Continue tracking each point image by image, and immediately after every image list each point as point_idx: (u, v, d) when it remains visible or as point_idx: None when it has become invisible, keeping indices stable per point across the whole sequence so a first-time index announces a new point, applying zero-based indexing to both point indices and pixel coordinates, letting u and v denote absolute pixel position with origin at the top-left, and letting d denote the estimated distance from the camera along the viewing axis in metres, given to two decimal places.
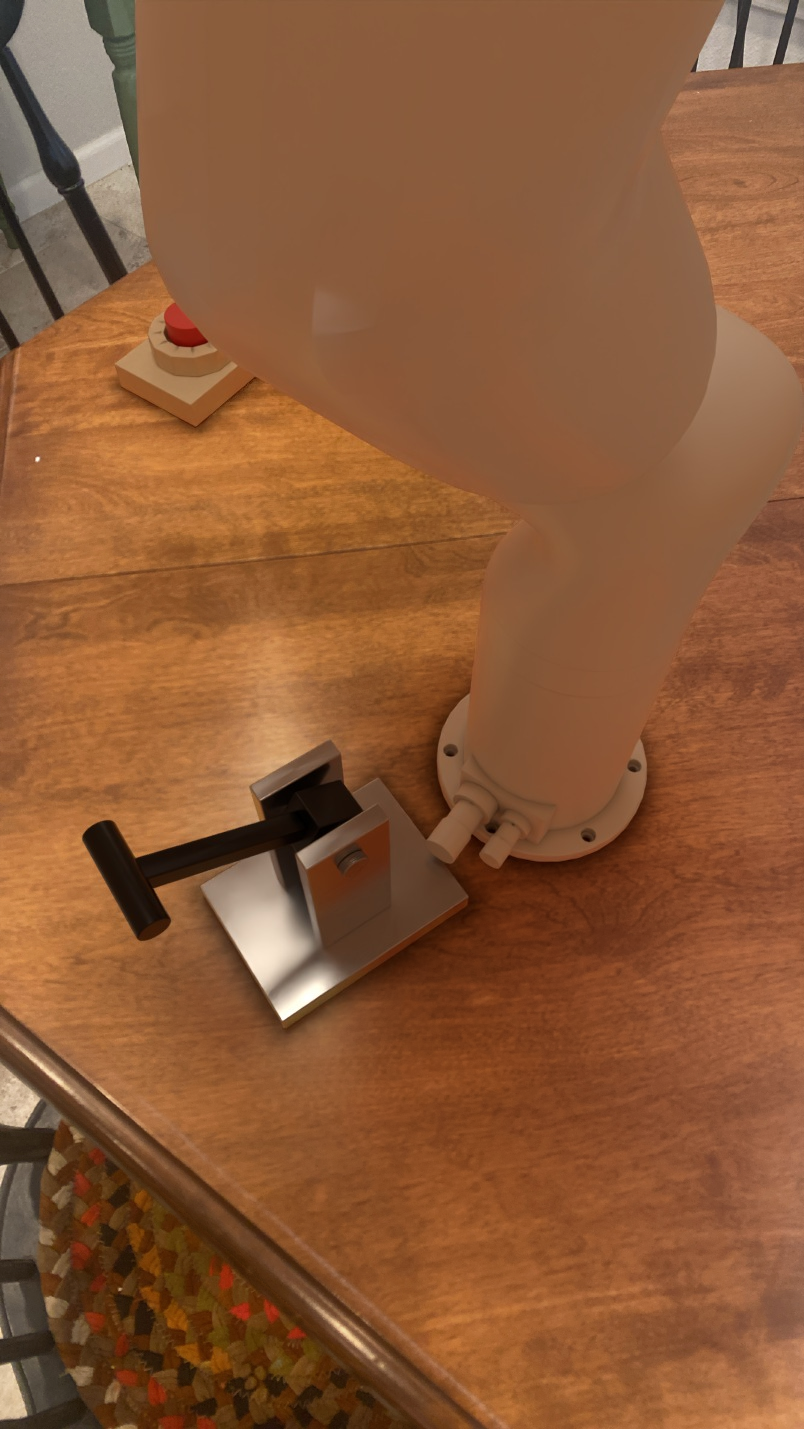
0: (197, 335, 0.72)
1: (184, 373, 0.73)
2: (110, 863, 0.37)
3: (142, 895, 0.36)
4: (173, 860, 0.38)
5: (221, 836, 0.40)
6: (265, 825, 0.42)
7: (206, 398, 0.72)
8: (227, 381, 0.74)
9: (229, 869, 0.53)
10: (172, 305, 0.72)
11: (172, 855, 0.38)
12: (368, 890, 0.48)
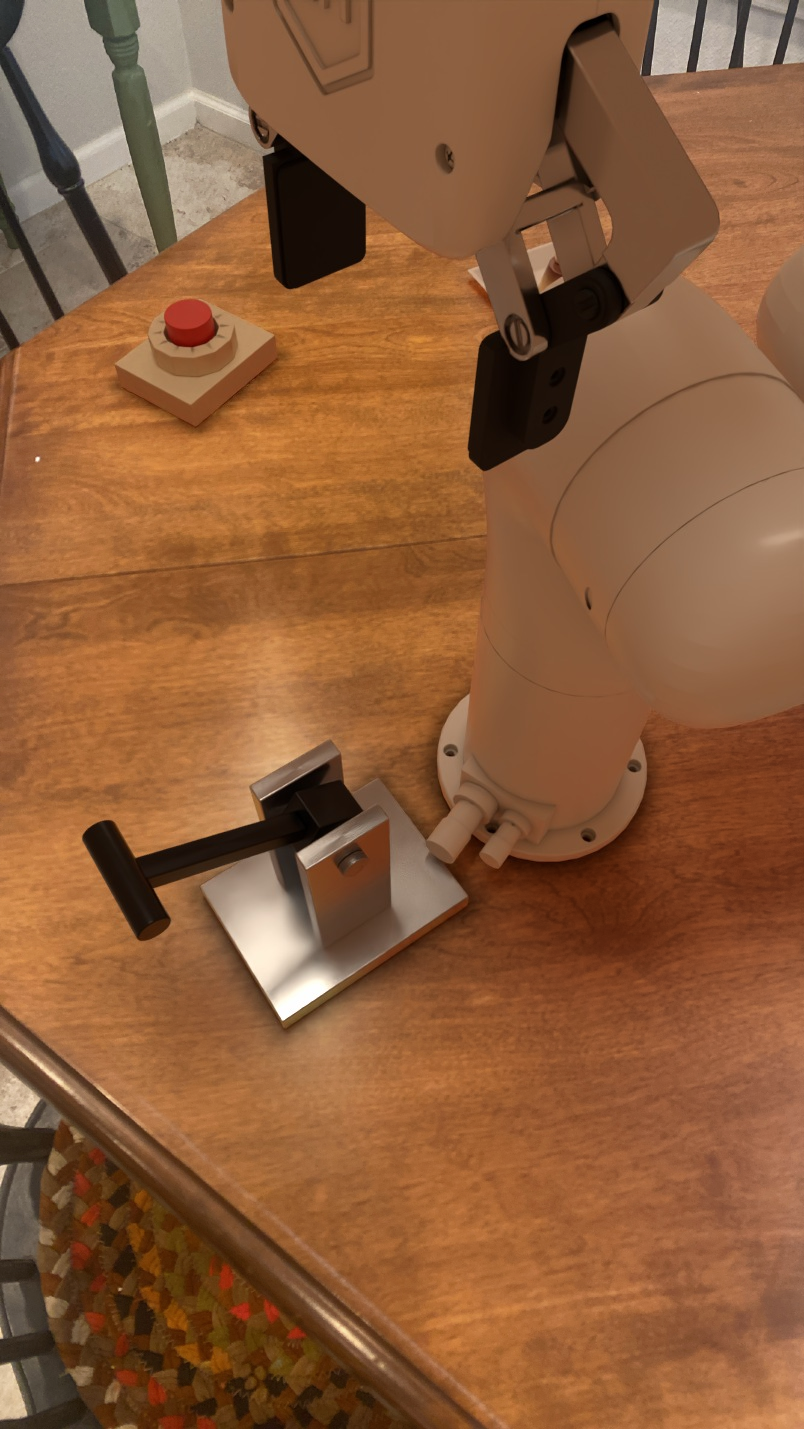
0: (197, 335, 0.72)
1: (184, 373, 0.73)
2: (110, 863, 0.37)
3: (142, 895, 0.36)
4: (173, 860, 0.38)
5: (221, 836, 0.40)
6: (265, 825, 0.42)
7: (206, 398, 0.72)
8: (227, 381, 0.74)
9: (229, 869, 0.53)
10: (172, 305, 0.72)
11: (172, 855, 0.38)
12: (368, 890, 0.48)
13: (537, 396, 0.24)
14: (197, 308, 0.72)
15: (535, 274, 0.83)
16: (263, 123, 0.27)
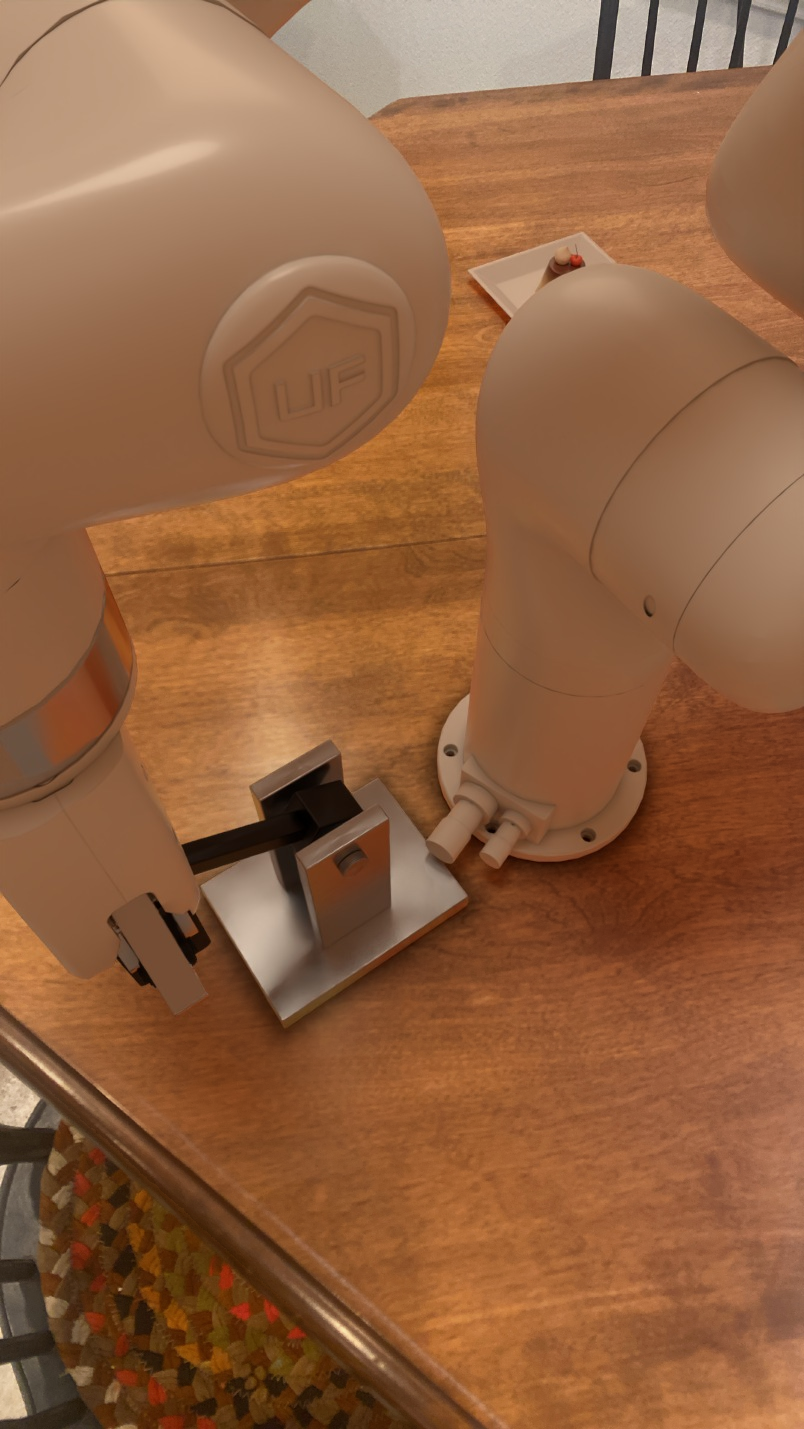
0: None
1: None
2: None
3: None
4: None
5: (221, 836, 0.40)
6: (265, 825, 0.42)
7: None
8: None
9: (229, 869, 0.53)
10: None
11: None
12: (368, 890, 0.48)
13: None
14: None
15: (535, 274, 0.83)
16: None
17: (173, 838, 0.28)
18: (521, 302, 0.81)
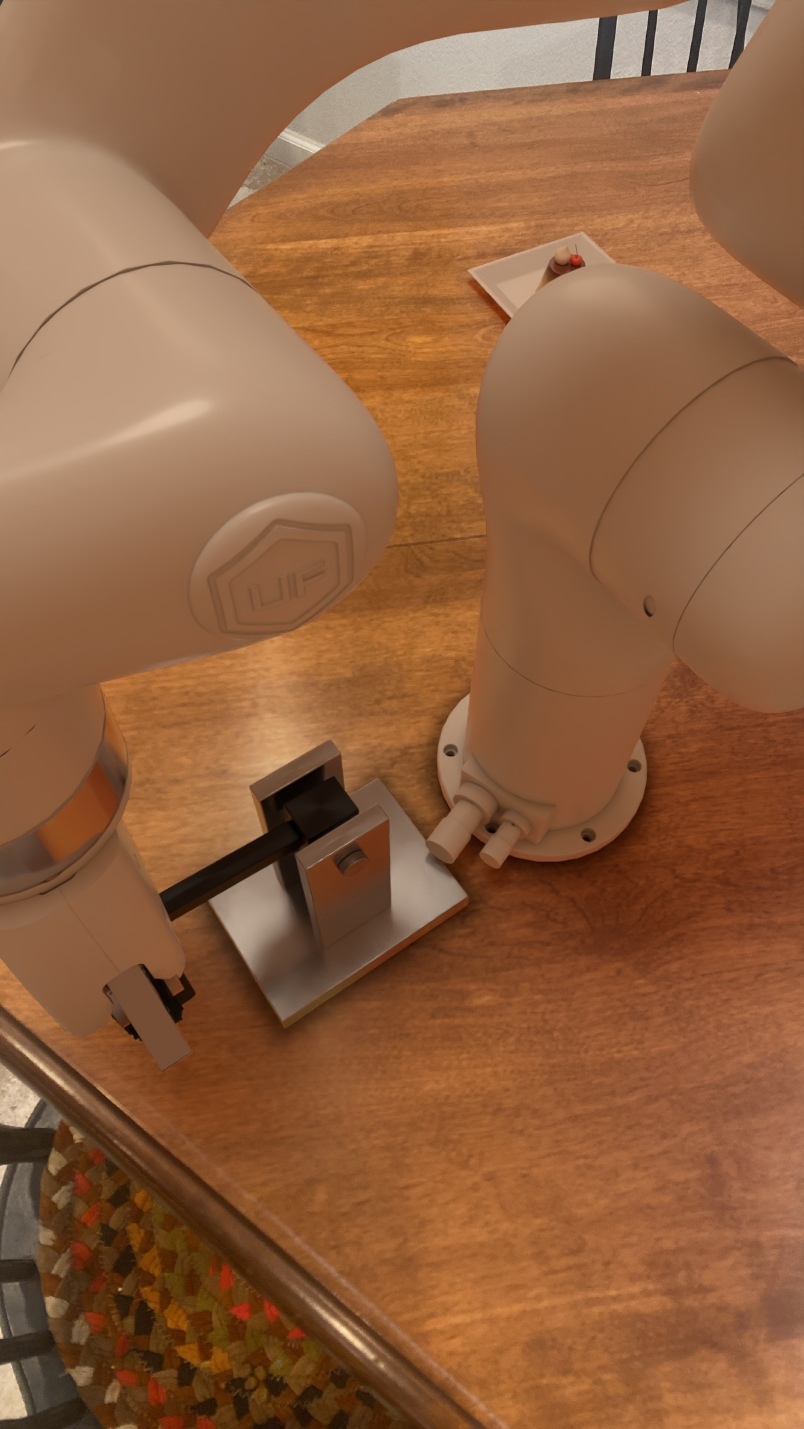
0: None
1: None
2: None
3: None
4: None
5: (211, 868, 0.42)
6: (256, 845, 0.43)
7: None
8: None
9: None
10: None
11: (162, 900, 0.41)
12: (368, 890, 0.48)
13: None
14: None
15: (535, 274, 0.83)
16: None
17: (162, 916, 0.31)
18: (521, 302, 0.81)
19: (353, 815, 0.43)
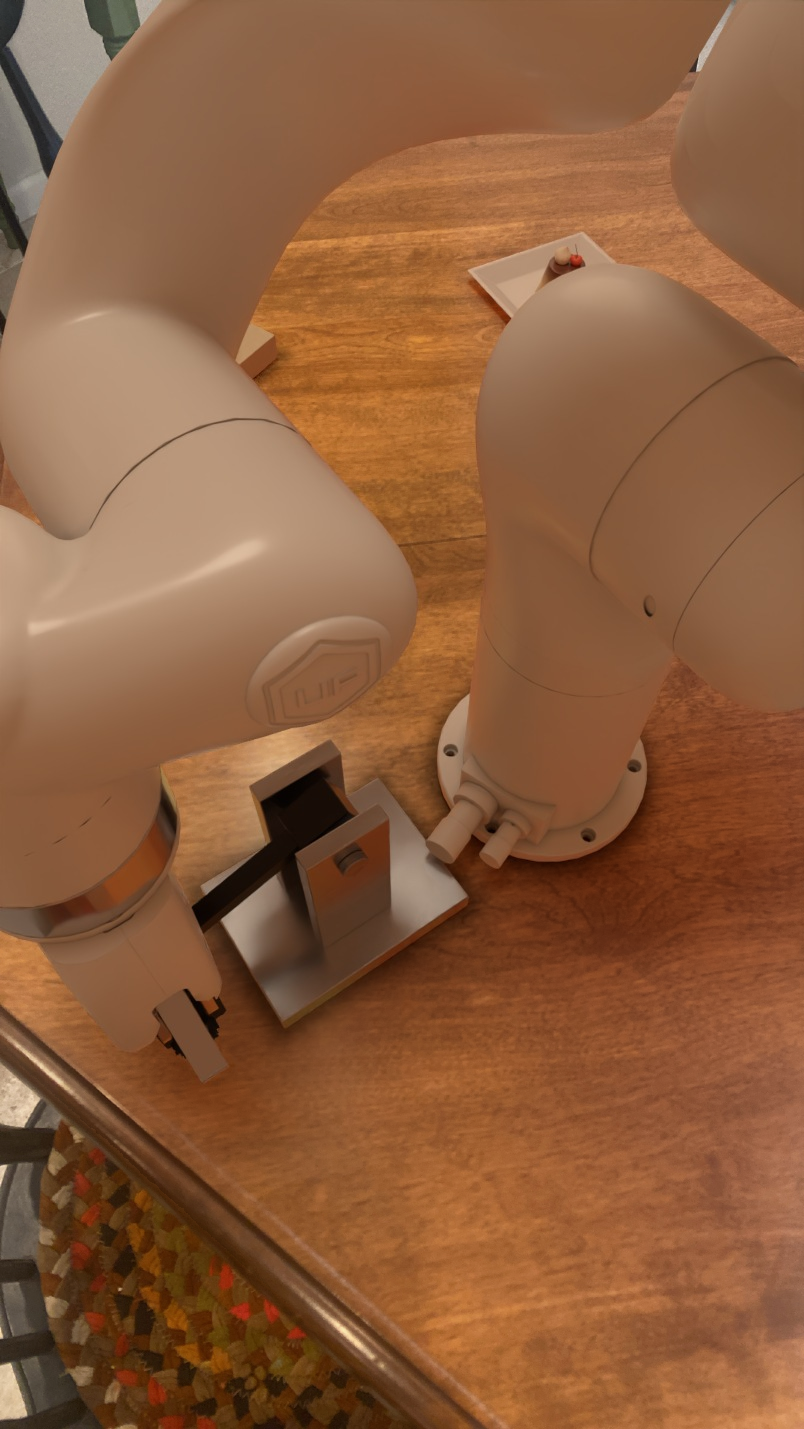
0: None
1: None
2: None
3: None
4: None
5: (222, 886, 0.44)
6: (260, 857, 0.44)
7: None
8: None
9: (229, 869, 0.53)
10: None
11: None
12: (368, 890, 0.48)
13: None
14: None
15: (535, 274, 0.83)
16: None
17: (204, 947, 0.35)
18: (521, 302, 0.81)
19: (344, 817, 0.43)
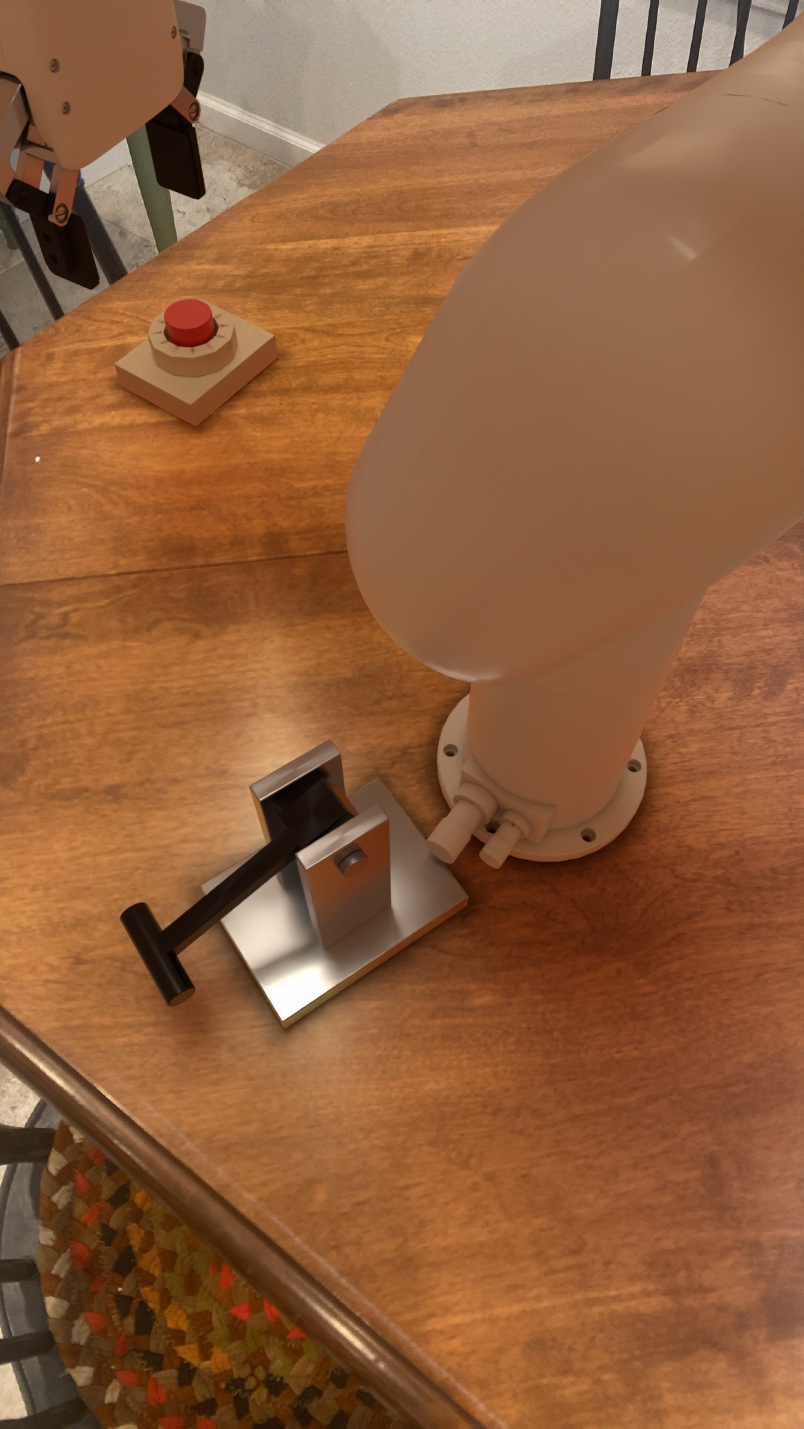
0: (197, 335, 0.72)
1: (184, 373, 0.73)
2: (137, 949, 0.44)
3: (160, 976, 0.43)
4: (184, 928, 0.44)
5: (222, 886, 0.44)
6: (260, 857, 0.44)
7: (206, 398, 0.72)
8: (227, 381, 0.74)
9: (229, 869, 0.53)
10: (172, 305, 0.72)
11: (183, 923, 0.44)
12: (368, 890, 0.48)
13: (40, 239, 0.50)
14: (197, 308, 0.72)
15: None
16: None
17: (45, 57, 0.42)
18: None
19: (344, 817, 0.43)
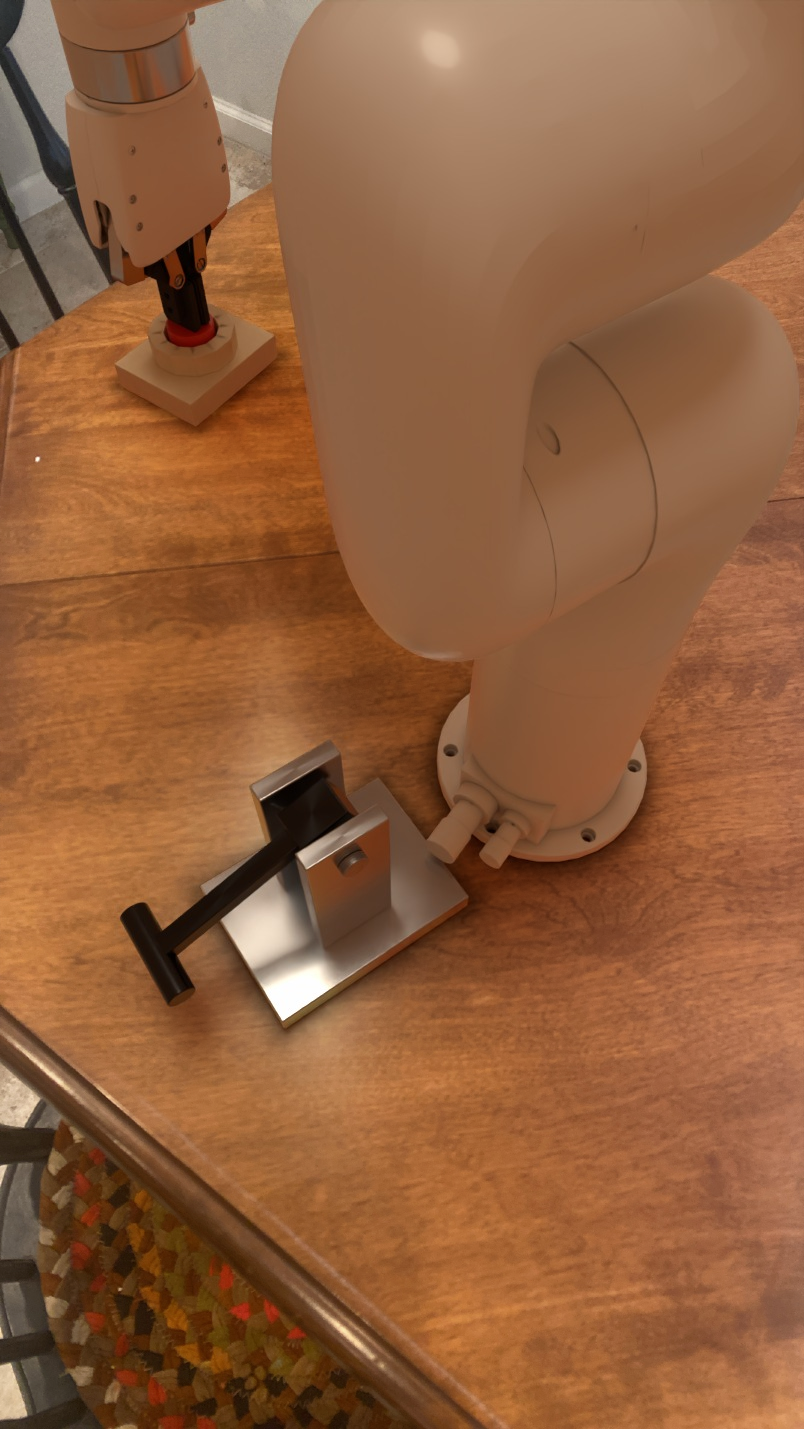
0: (199, 343, 0.72)
1: (184, 373, 0.73)
2: (137, 949, 0.44)
3: (160, 976, 0.43)
4: (184, 928, 0.44)
5: (222, 886, 0.44)
6: (260, 857, 0.44)
7: (206, 398, 0.72)
8: (227, 381, 0.74)
9: (229, 869, 0.53)
10: None
11: (183, 923, 0.44)
12: (368, 890, 0.48)
13: (162, 296, 0.70)
14: None
15: None
16: None
17: (126, 194, 0.59)
18: None
19: (344, 817, 0.43)
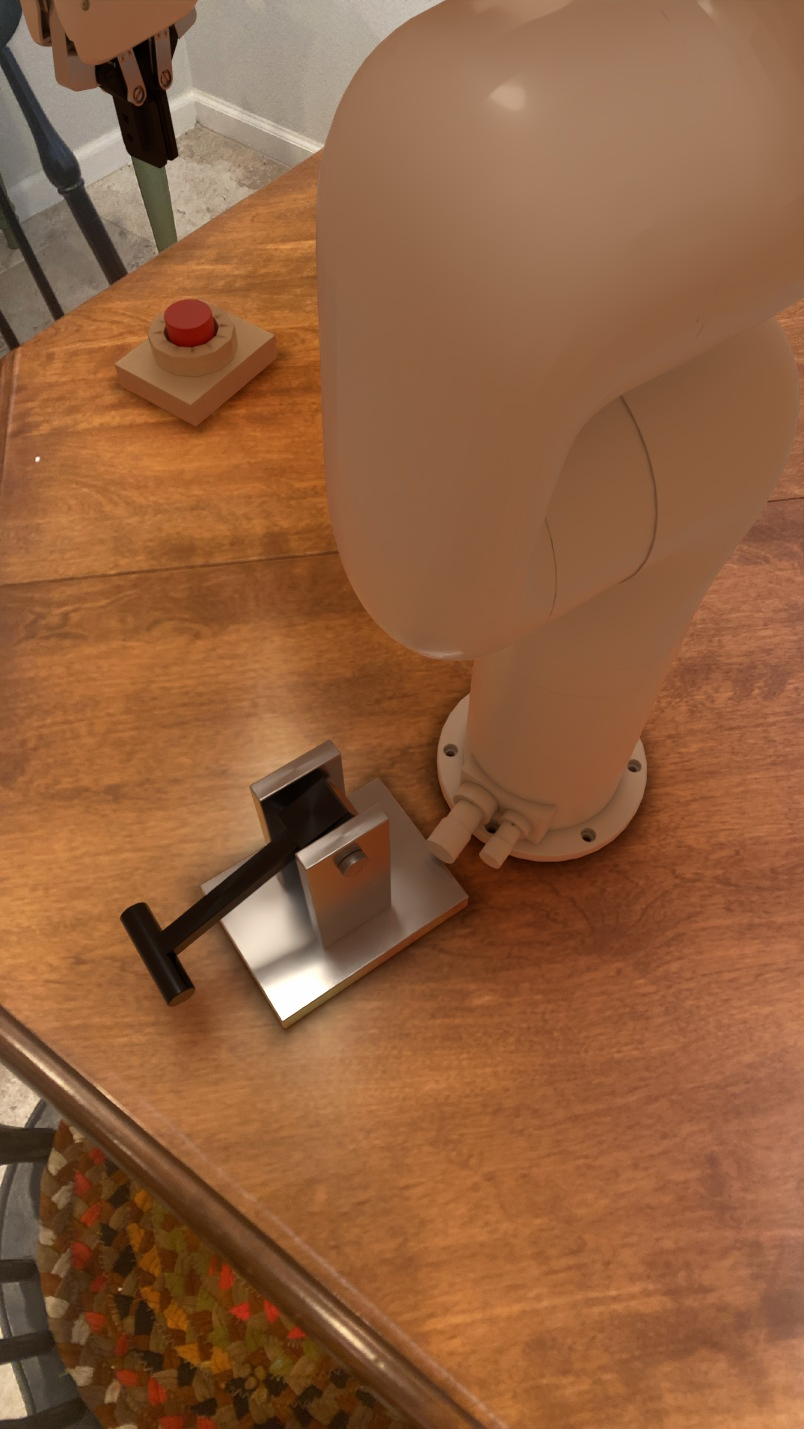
0: (197, 335, 0.72)
1: (184, 373, 0.73)
2: (137, 949, 0.44)
3: (160, 976, 0.43)
4: (184, 928, 0.44)
5: (222, 886, 0.44)
6: (260, 857, 0.44)
7: (206, 398, 0.72)
8: (227, 381, 0.74)
9: (229, 869, 0.53)
10: (172, 305, 0.72)
11: (183, 923, 0.44)
12: (368, 890, 0.48)
13: (120, 120, 0.59)
14: (197, 308, 0.72)
15: None
16: None
17: None
18: None
19: (344, 817, 0.43)
